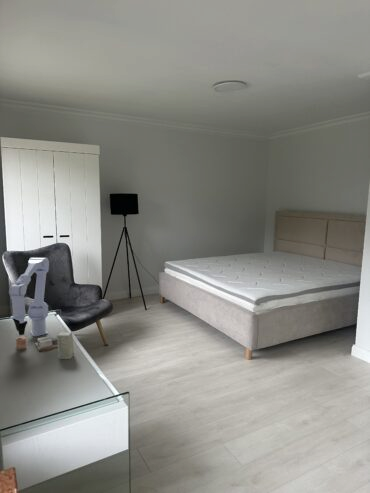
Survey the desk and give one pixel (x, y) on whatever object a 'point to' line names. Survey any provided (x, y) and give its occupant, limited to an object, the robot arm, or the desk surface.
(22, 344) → the terracotta block
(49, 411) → the desk surface
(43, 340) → the plate
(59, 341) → the skincare box
